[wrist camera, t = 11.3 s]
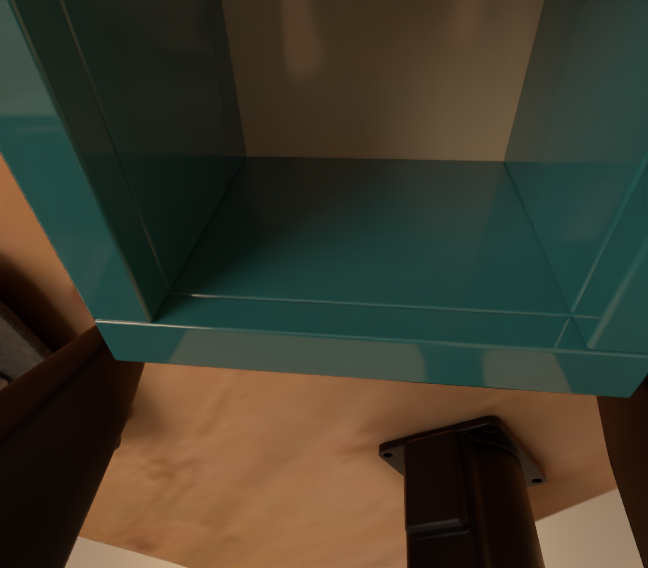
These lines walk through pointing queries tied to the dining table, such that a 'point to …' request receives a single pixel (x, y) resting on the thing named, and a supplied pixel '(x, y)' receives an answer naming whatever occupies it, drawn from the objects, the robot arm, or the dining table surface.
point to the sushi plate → (19, 348)
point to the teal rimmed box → (345, 182)
